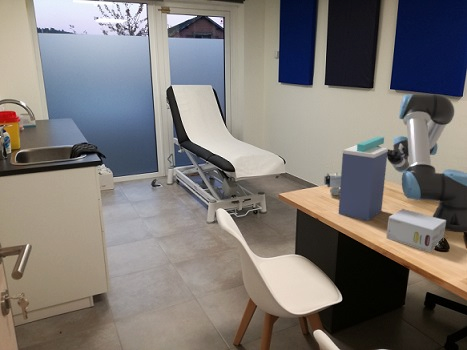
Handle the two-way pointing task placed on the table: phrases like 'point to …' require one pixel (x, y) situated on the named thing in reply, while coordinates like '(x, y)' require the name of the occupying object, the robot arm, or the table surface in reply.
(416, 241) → the supplement box
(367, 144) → the bar
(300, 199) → the table surface
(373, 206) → the pedestal
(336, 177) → the pneumatic valve
